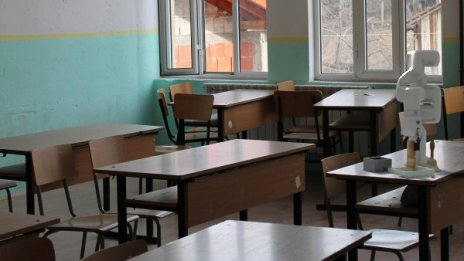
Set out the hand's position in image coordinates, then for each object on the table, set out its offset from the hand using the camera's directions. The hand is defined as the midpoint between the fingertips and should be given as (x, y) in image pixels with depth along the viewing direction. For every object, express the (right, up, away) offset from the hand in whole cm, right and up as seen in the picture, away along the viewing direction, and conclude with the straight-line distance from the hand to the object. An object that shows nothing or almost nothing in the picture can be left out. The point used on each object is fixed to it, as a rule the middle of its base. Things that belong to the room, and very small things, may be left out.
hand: (411, 149), depth 421 cm
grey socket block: (-15, -12, +10) cm, 21 cm away
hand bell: (+13, -11, +14) cm, 22 cm away
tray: (0, -12, +1) cm, 12 cm away
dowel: (0, -12, +1) cm, 12 cm away
